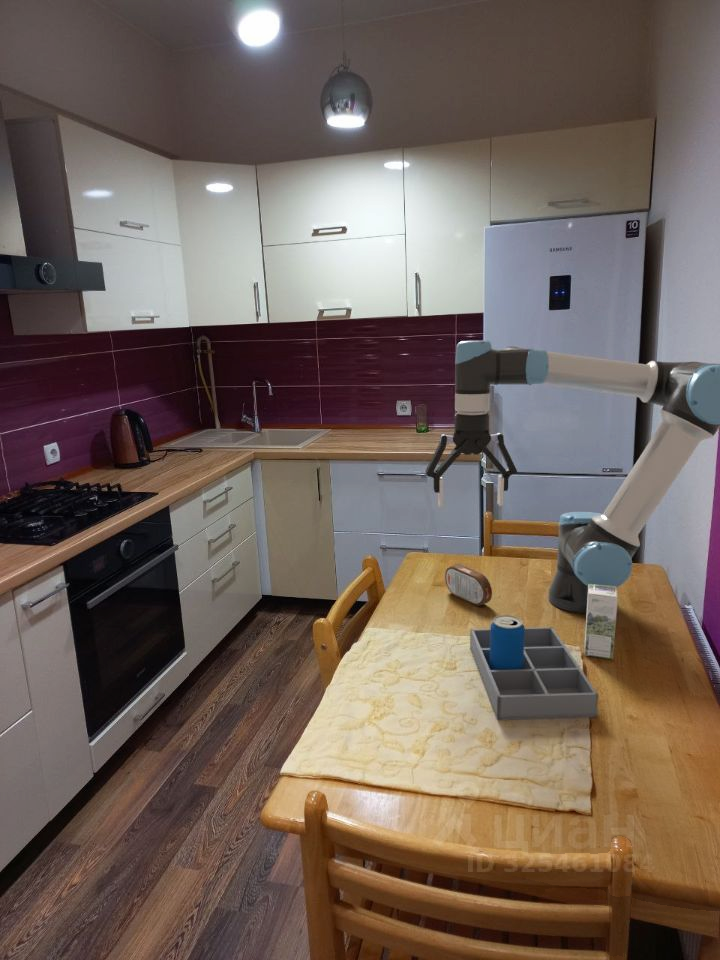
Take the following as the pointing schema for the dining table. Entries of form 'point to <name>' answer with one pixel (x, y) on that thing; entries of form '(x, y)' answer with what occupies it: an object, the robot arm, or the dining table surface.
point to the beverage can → (506, 643)
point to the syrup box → (600, 621)
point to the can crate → (536, 679)
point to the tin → (468, 584)
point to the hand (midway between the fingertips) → (470, 505)
